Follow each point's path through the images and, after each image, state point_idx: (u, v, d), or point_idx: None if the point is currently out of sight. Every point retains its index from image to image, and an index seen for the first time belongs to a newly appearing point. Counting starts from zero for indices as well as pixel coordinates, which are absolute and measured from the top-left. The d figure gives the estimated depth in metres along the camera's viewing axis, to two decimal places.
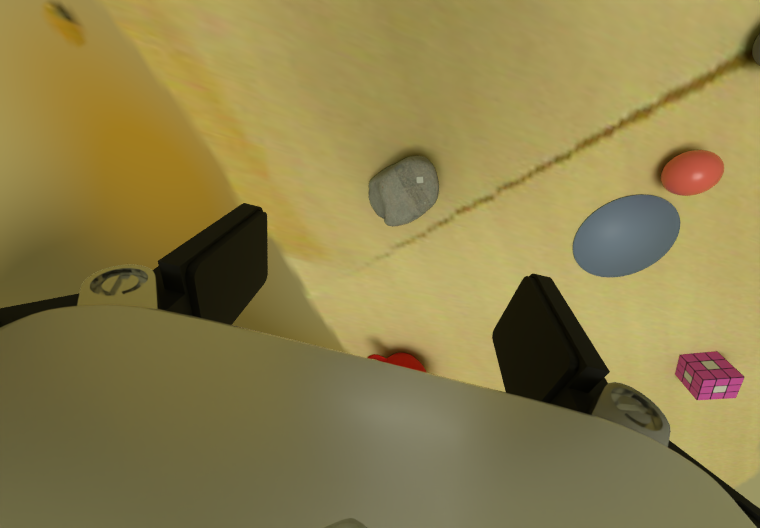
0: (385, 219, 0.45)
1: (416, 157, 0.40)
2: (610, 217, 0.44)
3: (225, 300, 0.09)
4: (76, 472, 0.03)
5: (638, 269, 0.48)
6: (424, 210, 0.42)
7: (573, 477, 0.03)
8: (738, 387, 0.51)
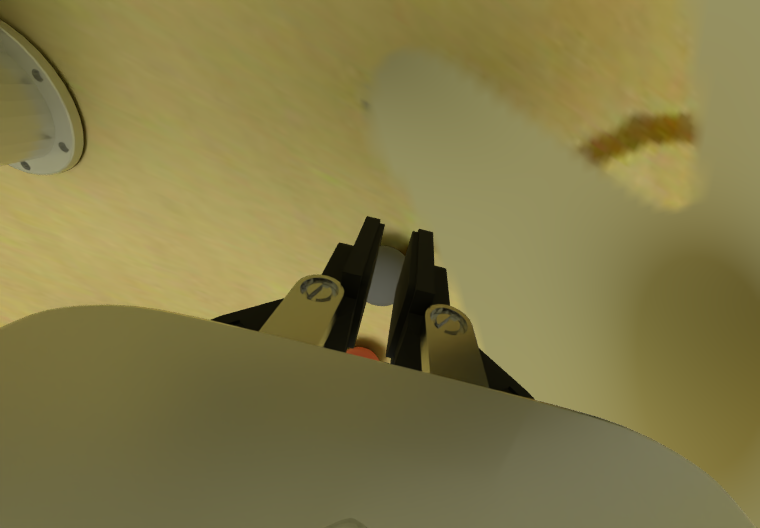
0: None
1: None
2: None
3: (364, 304, 0.10)
4: (76, 472, 0.03)
5: None
6: None
7: (573, 477, 0.03)
8: None
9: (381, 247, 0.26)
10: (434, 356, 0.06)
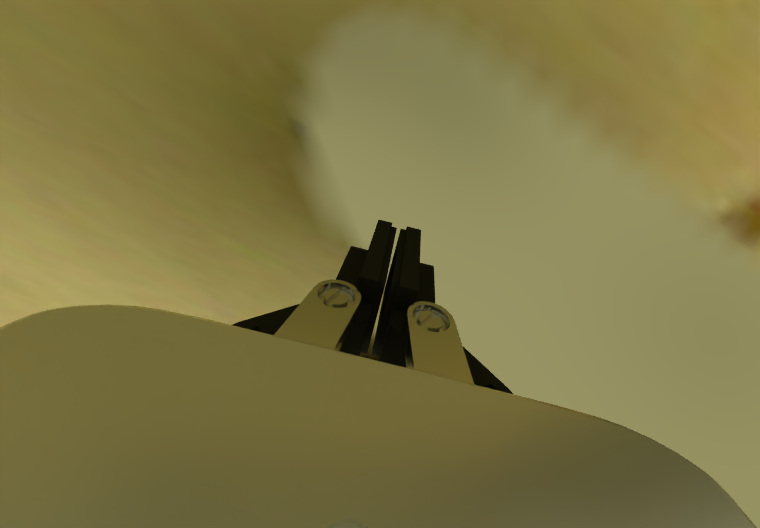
0: None
1: None
2: None
3: None
4: (75, 472, 0.03)
5: None
6: None
7: (573, 477, 0.03)
8: None
9: None
10: (413, 353, 0.06)
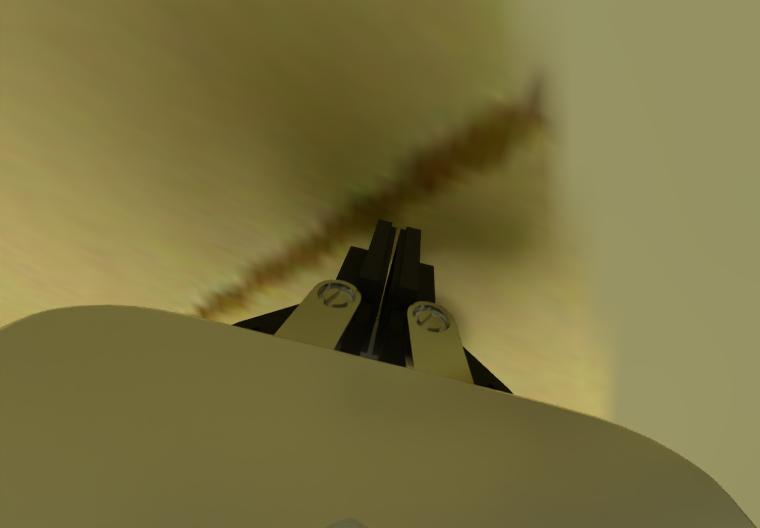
0: None
1: None
2: None
3: None
4: (75, 472, 0.03)
5: None
6: None
7: (573, 477, 0.03)
8: None
9: None
10: (413, 353, 0.06)
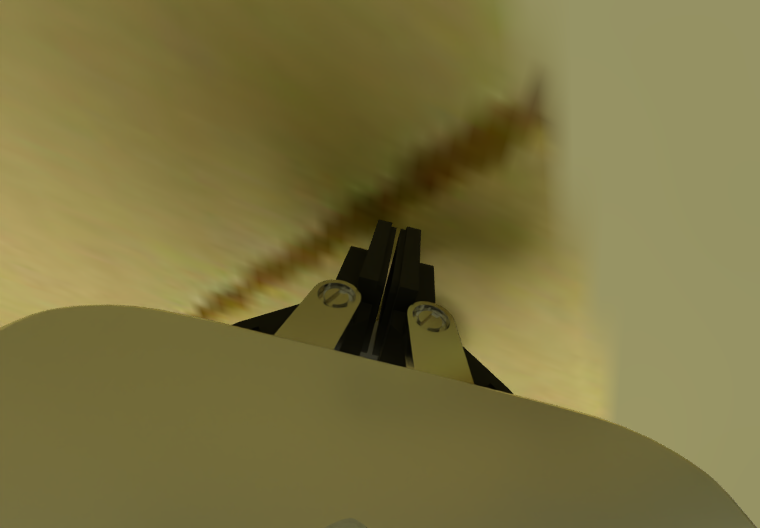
0: None
1: None
2: None
3: None
4: (76, 472, 0.03)
5: None
6: None
7: (573, 477, 0.03)
8: None
9: None
10: (413, 353, 0.06)
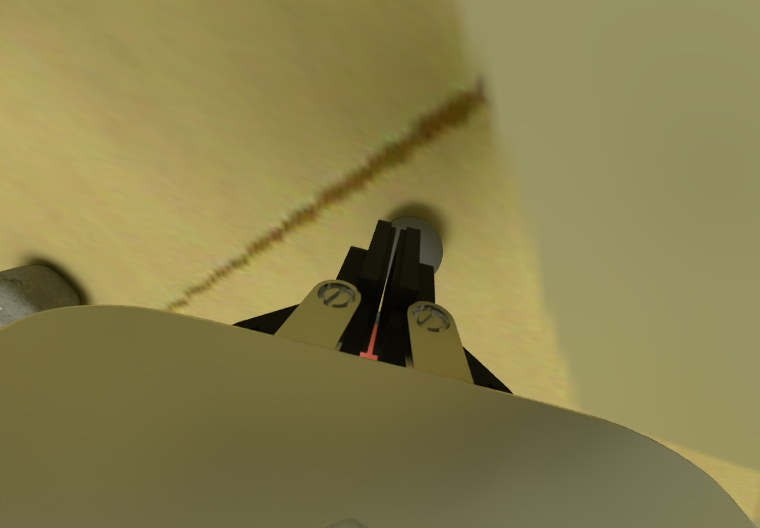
0: None
1: None
2: None
3: None
4: (76, 472, 0.03)
5: None
6: None
7: (573, 477, 0.03)
8: None
9: None
10: (413, 353, 0.06)
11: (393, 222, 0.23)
